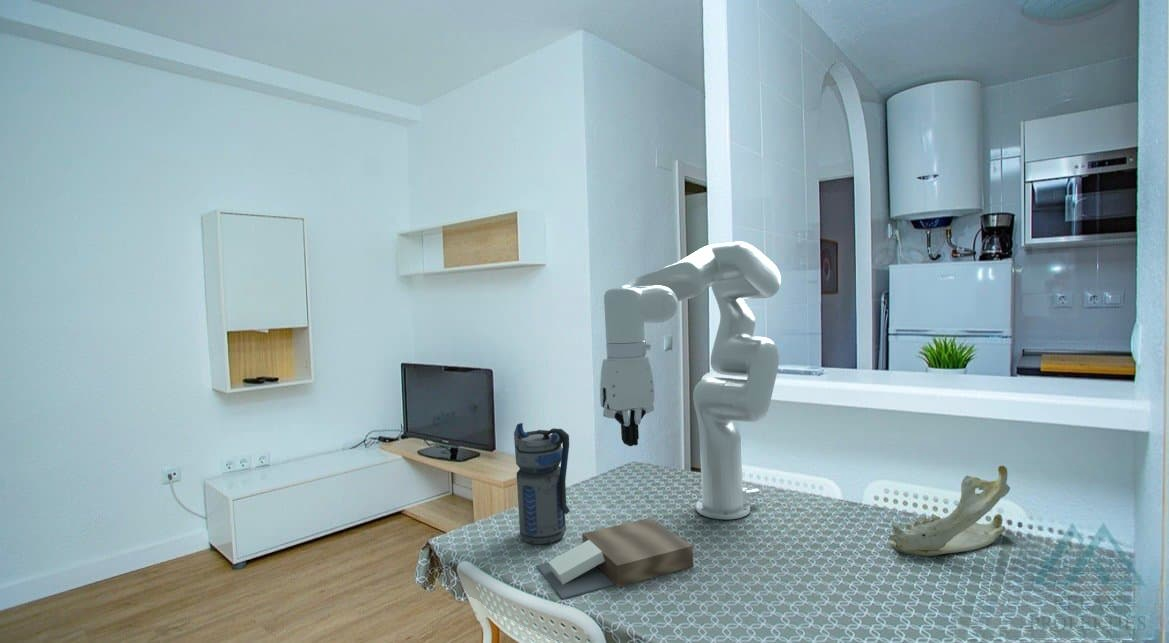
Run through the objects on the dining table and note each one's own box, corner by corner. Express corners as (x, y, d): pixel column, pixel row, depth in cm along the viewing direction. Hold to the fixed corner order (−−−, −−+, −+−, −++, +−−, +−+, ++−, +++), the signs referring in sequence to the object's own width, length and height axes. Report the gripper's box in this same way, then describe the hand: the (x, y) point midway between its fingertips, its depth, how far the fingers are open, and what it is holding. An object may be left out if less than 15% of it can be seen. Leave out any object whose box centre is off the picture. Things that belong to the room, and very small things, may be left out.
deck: (650, 535, 125) (650, 517, 124) (693, 566, 110) (692, 545, 110) (583, 552, 118) (582, 533, 118) (618, 587, 104) (617, 565, 103)
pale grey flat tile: (591, 548, 114) (589, 539, 114) (605, 560, 108) (601, 551, 108) (551, 570, 111) (548, 561, 110) (562, 584, 105) (559, 575, 105)
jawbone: (902, 525, 104) (873, 486, 113) (900, 590, 112) (872, 549, 121) (1039, 493, 103) (999, 457, 112) (1027, 561, 111) (990, 522, 120)
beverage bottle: (562, 551, 119) (555, 432, 118) (508, 542, 125) (501, 428, 124) (583, 532, 128) (577, 421, 127) (533, 524, 134) (527, 418, 133)
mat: (583, 555, 117) (583, 553, 117) (613, 585, 104) (613, 583, 104) (536, 566, 113) (536, 565, 113) (562, 599, 100) (562, 597, 100)
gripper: (649, 346, 119) (653, 435, 119) (583, 353, 113) (588, 446, 114) (669, 349, 112) (673, 442, 113) (599, 356, 106) (604, 454, 107)
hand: (630, 444), depth 113 cm, fingers closed
